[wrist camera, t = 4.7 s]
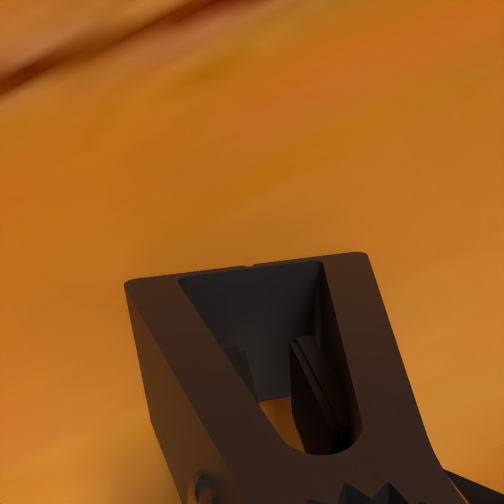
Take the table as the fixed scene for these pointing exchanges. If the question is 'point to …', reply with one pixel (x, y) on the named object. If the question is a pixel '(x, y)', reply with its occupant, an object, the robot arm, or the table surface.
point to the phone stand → (280, 383)
